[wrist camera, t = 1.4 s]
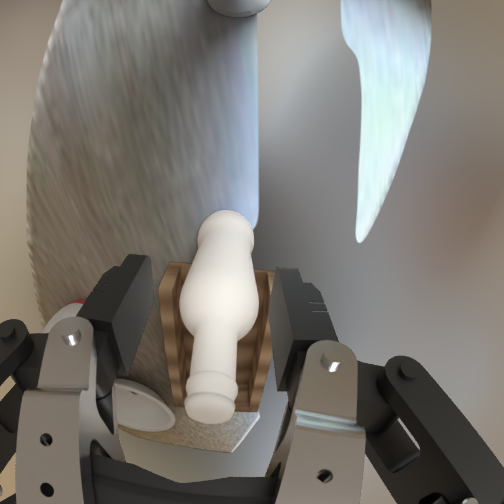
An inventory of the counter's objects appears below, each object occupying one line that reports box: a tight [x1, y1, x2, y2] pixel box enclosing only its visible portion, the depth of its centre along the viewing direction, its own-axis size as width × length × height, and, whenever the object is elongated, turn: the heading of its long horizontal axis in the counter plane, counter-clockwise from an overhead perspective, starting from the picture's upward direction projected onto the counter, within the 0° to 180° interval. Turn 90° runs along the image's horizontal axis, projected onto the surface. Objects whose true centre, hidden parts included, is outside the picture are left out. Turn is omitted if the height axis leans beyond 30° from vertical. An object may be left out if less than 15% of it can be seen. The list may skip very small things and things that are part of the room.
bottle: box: [179, 210, 259, 424], centre depth 30 cm, size 8×8×30 cm
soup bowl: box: [114, 379, 175, 431], centre depth 60 cm, size 24×24×7 cm
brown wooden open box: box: [158, 262, 275, 412], centre depth 50 cm, size 32×18×8 cm, turn 174°
